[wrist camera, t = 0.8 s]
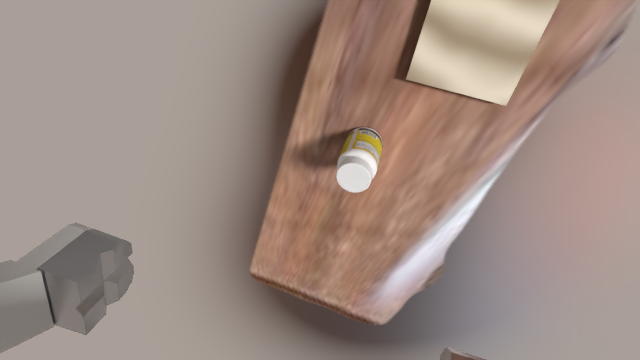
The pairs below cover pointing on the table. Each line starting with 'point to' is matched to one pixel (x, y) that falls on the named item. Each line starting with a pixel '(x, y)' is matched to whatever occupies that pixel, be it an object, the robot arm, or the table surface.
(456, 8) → the ash board
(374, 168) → the supplement bottle
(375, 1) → the table surface
